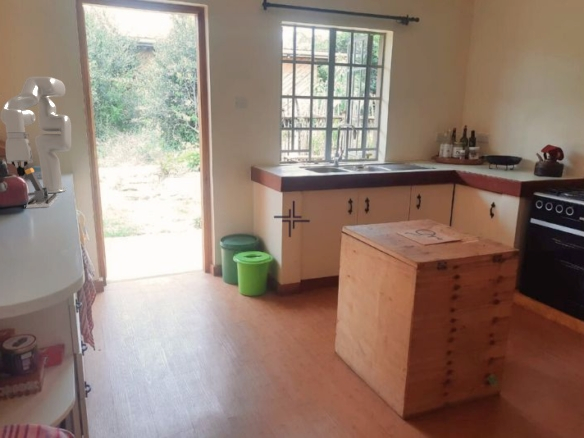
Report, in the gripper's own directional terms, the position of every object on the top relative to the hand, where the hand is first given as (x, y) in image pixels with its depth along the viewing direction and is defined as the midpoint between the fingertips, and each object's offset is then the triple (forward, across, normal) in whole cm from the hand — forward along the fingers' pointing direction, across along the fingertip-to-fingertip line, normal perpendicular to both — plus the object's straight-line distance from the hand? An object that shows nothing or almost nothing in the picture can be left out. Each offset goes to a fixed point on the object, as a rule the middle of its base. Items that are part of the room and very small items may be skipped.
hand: (21, 175), depth 215 cm
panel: (+14, -7, -1) cm, 15 cm away
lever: (+9, -7, -1) cm, 12 cm away
